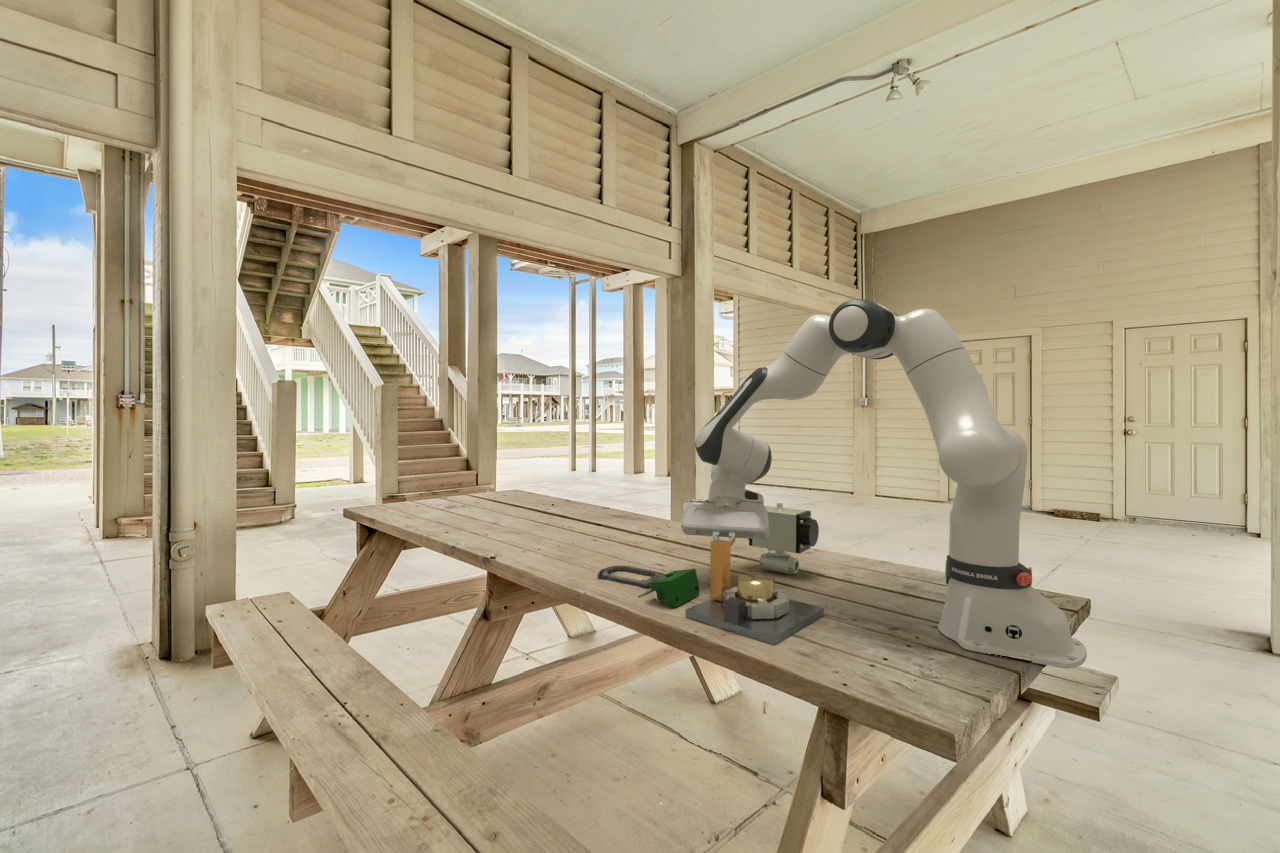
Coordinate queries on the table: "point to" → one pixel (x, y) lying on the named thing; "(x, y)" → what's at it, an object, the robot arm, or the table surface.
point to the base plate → (736, 621)
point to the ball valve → (786, 538)
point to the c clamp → (644, 583)
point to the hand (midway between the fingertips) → (723, 551)
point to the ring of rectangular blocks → (723, 592)
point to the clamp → (676, 587)
